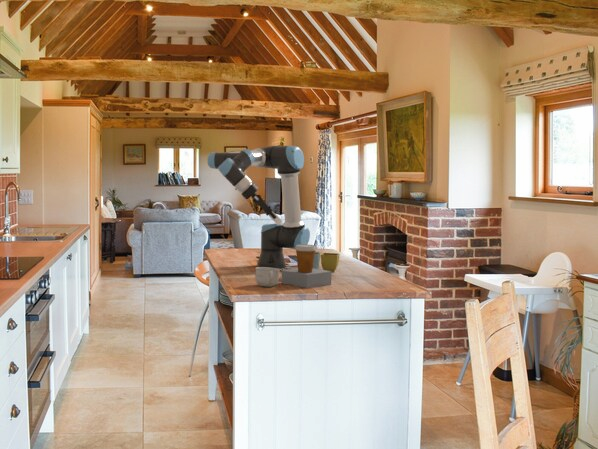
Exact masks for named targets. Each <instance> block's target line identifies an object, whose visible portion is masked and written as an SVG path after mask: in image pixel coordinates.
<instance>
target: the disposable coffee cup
mask: <svg viewBox="0 0 598 449" xmlns="http://www.w3.org/2000/svg"><path fill="white" fill-rule="evenodd" d="M295 249H296V250H295ZM295 249H294V250H295V251H296V252H295V254H296V264H297V268H298V272H300V273H311V272H312V269H313V262H314V256H315V252H316V250H317V248H316V245H314V244H307V245H305V244H302V245H296V248H295Z"/></svg>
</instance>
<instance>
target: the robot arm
mask: <svg viewBox="0 0 598 449" xmlns="http://www.w3.org/2000/svg"><path fill="white" fill-rule="evenodd" d="M206 161H207V165H208V167H209V168H210V169H214V170H215V169H216V170H218V171H219V172H220V173H221V175H222V177H224V178H225V179H226V180H227V181H228V182H229V183H230V184H231V185H232V186H233V188H234V190H235V191H238V192H239V193H241V196H242V197H243V198H244V200H249V199H250V198H252V201H253V203H255V204H256V205H257V206H258V207H260V208H261V209H262V210H263V211H264V212H265V215H266V217H268V216H269V218H270V219H271V220H272V221H273V223H267V224H263V225H261V231H260V233H261V234H260V236H261V237H260V255H259V256H258V260H257V262H256V263H257V267H270V268H277V269H282V268H286V264H287V262H286V261H285V256H284V250H283V249H288V250H289V249H291V250H295V251H296V249H295V248H296V245H302V244H305V245H309V244H308V243H309V241H310V238H311V233H310V229H309V228H308V227H306V225H305V222H304V221H303V219H302V212H301V210H302V209H301V200H300V199H301V197H300V187H299V174H300V173H301V170H302V169H303V167H304V165H305V156H304V152H303V150H302V149H301V148H300V147H299V146H296V145H269V146H264V147H259V148H254V149H252V150H250V149H248V148H244V149H242V150H240V151H226V152H210V153H209V154H208V155H207V160H206ZM249 167H255V168H265V169H266V168H267V169H274V170H275V169H277V174H278V175H279V176H280V179H281V180H280V181H281V192H282V202H283V215H284V216H283V217H284V222H283V220H282V218H280V217H279V216H278V215H277V214H276V213H275V212H274V211H273V209H272V207H271V206H269V205H268V204H266V202H265V200H264V199H263V198H262V196H261V195H260V194H257V191H258V190H259V187H258V186H257V185H256V184H255V183H253V181H252V179H251V178H250V177H249V176H248V175H247V174H246V173H245V171H246V170H247V169H248V168H249Z"/></svg>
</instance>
